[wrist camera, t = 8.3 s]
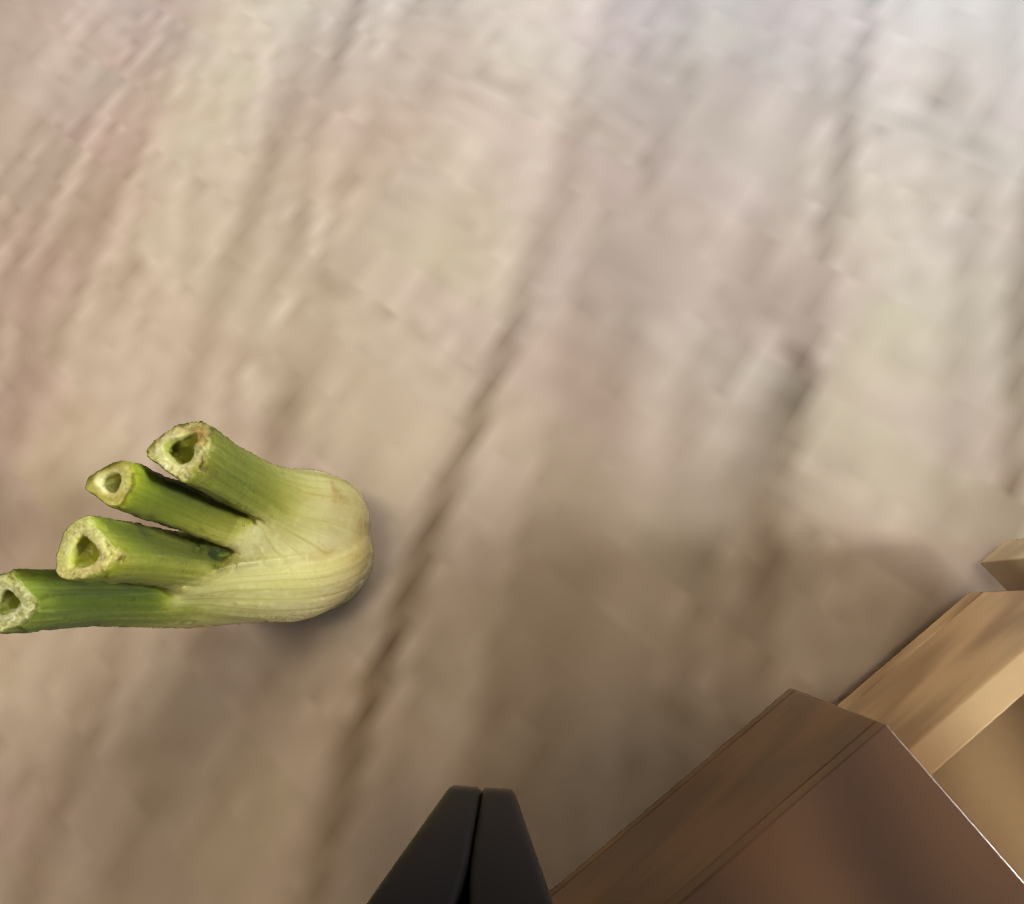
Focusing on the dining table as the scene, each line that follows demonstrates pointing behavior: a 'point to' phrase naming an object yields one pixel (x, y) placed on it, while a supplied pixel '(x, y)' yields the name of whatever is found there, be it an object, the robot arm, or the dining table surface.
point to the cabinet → (800, 826)
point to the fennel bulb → (200, 544)
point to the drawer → (966, 703)
